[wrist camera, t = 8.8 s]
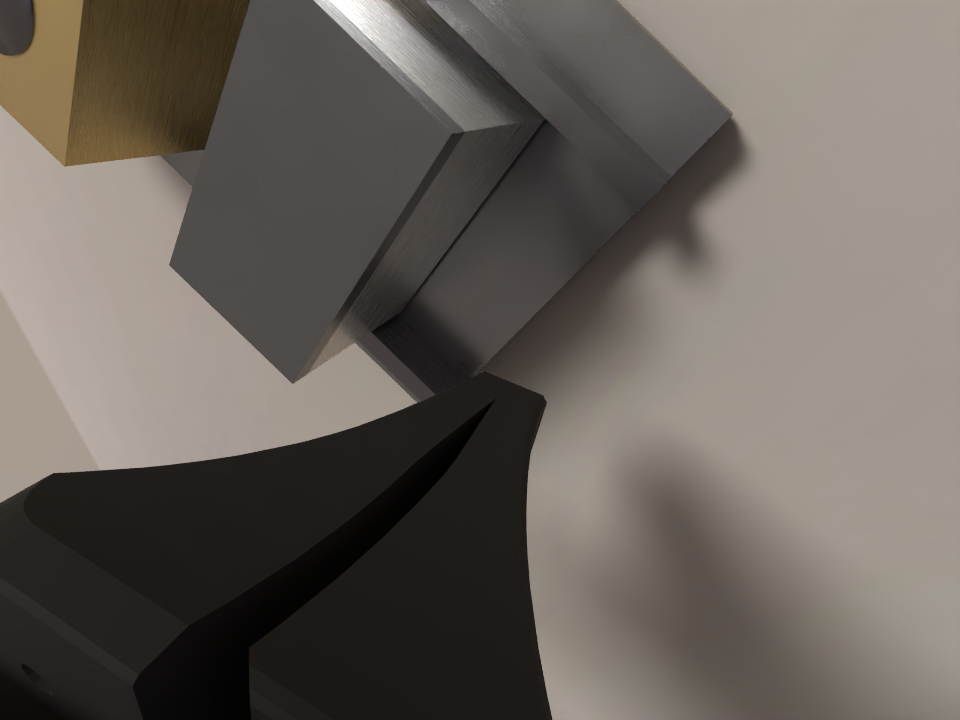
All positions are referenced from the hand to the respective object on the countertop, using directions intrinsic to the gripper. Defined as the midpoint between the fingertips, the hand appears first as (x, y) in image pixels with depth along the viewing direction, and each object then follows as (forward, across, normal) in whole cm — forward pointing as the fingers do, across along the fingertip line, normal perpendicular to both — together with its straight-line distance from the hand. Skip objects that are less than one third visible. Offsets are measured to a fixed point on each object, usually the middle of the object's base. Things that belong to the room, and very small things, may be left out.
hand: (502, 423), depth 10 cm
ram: (+5, +5, -3) cm, 8 cm away
